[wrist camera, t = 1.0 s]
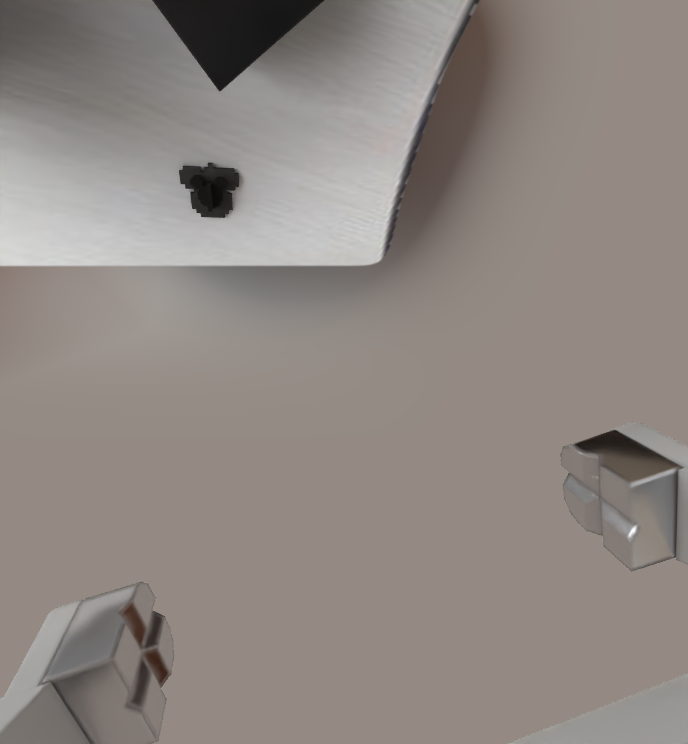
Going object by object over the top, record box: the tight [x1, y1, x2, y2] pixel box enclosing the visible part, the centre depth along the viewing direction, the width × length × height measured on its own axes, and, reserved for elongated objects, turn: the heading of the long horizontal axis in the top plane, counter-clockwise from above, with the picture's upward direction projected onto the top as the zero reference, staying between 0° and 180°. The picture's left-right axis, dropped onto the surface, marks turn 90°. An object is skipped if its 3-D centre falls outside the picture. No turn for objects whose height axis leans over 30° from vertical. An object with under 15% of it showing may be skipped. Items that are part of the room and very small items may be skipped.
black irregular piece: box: [179, 163, 239, 218], centre depth 48 cm, size 6×2×6 cm
